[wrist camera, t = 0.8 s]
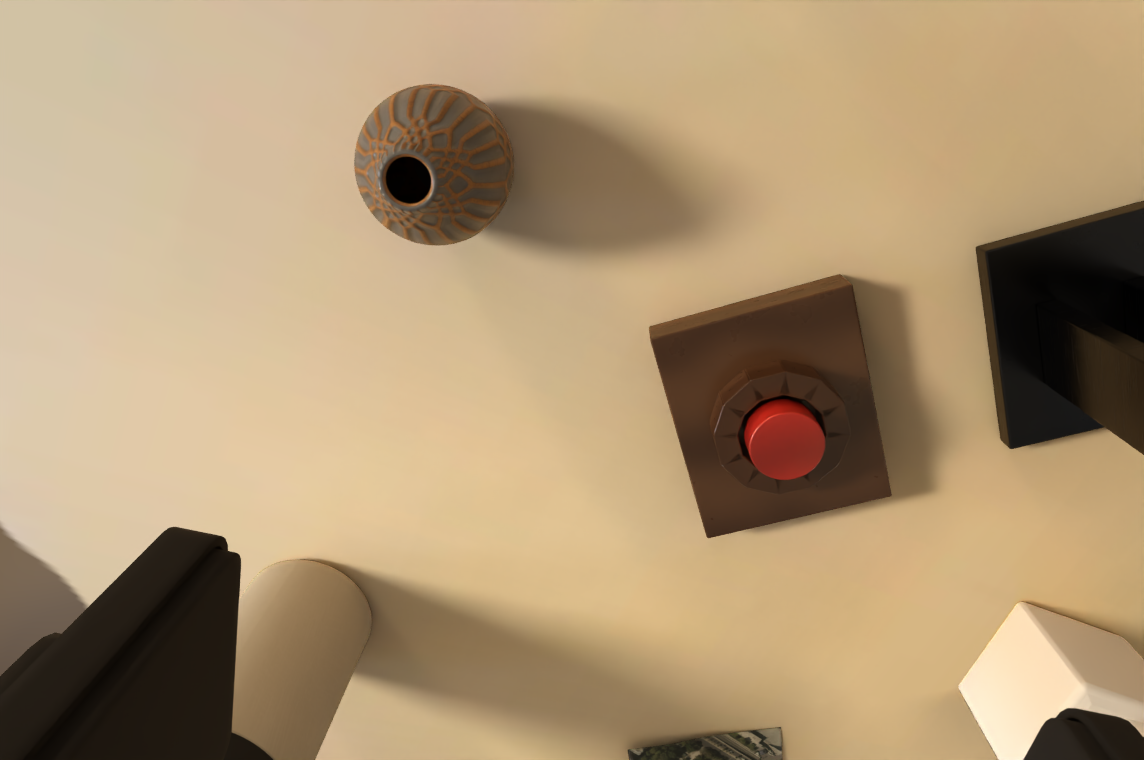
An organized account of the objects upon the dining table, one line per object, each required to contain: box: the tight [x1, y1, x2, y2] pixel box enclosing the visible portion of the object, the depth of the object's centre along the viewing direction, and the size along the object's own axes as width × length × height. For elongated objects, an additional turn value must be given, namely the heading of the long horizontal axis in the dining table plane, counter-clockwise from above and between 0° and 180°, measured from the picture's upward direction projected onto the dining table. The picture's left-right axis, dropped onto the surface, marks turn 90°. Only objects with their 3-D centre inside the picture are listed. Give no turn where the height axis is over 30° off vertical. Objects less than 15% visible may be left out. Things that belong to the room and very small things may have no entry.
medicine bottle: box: [958, 602, 1144, 760], centre depth 42 cm, size 7×7×12 cm
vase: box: [354, 84, 514, 245], centre depth 34 cm, size 7×7×9 cm
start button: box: [744, 399, 825, 480], centre depth 38 cm, size 4×4×2 cm
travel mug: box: [224, 560, 372, 760], centre depth 40 cm, size 8×8×18 cm
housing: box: [649, 274, 892, 538], centre depth 40 cm, size 12×10×4 cm
